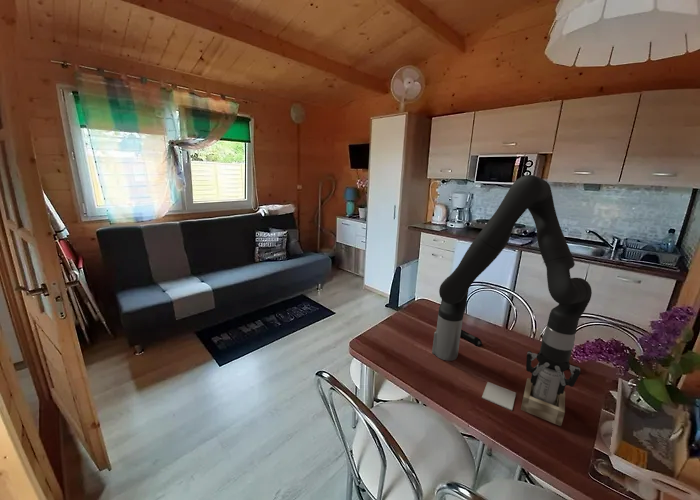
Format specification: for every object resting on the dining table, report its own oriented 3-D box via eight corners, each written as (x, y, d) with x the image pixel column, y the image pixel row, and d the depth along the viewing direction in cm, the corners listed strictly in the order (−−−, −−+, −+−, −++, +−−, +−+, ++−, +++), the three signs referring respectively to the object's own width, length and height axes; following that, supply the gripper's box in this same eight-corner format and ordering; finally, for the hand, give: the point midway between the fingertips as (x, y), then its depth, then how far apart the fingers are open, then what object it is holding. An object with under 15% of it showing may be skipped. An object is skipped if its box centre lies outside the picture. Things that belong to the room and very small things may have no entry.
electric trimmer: (452, 328, 142) (453, 322, 141) (482, 344, 130) (483, 338, 129) (447, 331, 140) (448, 325, 139) (477, 347, 128) (478, 341, 127)
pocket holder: (520, 409, 95) (523, 396, 94) (524, 390, 104) (527, 377, 102) (561, 426, 90) (564, 412, 88) (561, 404, 98) (565, 391, 97)
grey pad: (481, 397, 100) (481, 396, 100) (487, 382, 107) (487, 381, 107) (511, 410, 95) (512, 409, 95) (515, 393, 102) (516, 392, 102)
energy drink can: (556, 414, 94) (567, 374, 89) (536, 413, 94) (547, 373, 90) (545, 400, 100) (555, 361, 95) (526, 399, 100) (535, 360, 95)
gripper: (587, 344, 89) (573, 391, 94) (531, 328, 97) (521, 372, 102) (588, 357, 83) (573, 406, 88) (528, 339, 91) (518, 385, 96)
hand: (545, 388), depth 95 cm, fingers closed on energy drink can, 6 cm apart
